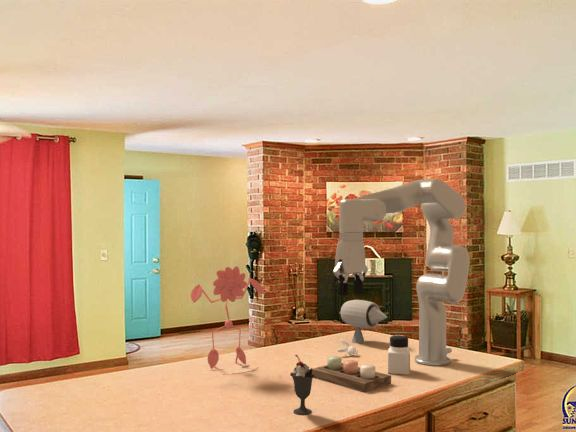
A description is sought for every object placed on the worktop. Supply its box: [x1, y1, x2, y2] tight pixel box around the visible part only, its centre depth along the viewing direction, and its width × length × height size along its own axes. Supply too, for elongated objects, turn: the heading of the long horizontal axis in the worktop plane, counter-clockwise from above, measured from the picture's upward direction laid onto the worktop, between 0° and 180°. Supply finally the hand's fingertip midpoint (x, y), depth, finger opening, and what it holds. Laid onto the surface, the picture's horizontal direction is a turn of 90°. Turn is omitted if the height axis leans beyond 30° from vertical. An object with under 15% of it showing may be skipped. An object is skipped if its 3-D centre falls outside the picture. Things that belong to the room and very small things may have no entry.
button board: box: [312, 362, 392, 393], centre depth 183 cm, size 13×22×3 cm, turn 43°
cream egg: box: [360, 364, 376, 380], centre depth 178 cm, size 5×5×4 cm
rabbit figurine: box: [336, 338, 359, 357], centre depth 216 cm, size 6×4×8 cm
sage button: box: [326, 355, 343, 371], centre depth 188 cm, size 5×5×4 cm
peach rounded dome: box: [342, 359, 359, 375], centre depth 183 cm, size 5×5×4 cm
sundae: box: [289, 354, 315, 416], centre depth 153 cm, size 7×7×15 cm
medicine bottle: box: [387, 334, 411, 376], centre depth 194 cm, size 7×7×12 cm
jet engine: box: [340, 299, 389, 344], centre depth 238 cm, size 15×20×18 cm
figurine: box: [190, 265, 266, 375], centre depth 196 cm, size 15×26×35 cm, turn 115°
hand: (351, 293), depth 183 cm, fingers open, 6 cm apart
